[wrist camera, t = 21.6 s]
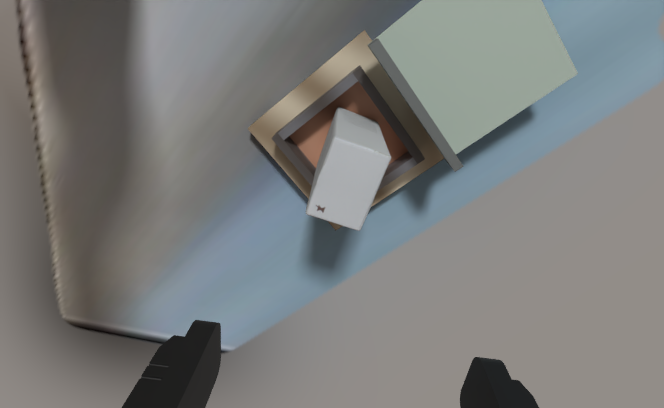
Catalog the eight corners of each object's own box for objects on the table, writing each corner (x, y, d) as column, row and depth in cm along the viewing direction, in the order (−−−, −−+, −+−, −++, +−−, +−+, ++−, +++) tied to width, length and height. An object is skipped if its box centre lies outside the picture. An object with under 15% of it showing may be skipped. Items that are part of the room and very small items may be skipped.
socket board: (336, 224, 41) (334, 242, 38) (251, 125, 37) (240, 134, 34) (445, 150, 37) (455, 163, 34) (364, 30, 33) (365, 29, 29)
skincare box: (357, 176, 37) (359, 234, 26) (317, 162, 37) (302, 215, 26) (380, 119, 35) (393, 157, 24) (337, 103, 34) (331, 135, 23)
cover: (444, 158, 33) (454, 171, 30) (367, 45, 30) (369, 46, 27) (573, 72, 30) (601, 77, 27) (503, -68, 26) (525, -82, 23)
